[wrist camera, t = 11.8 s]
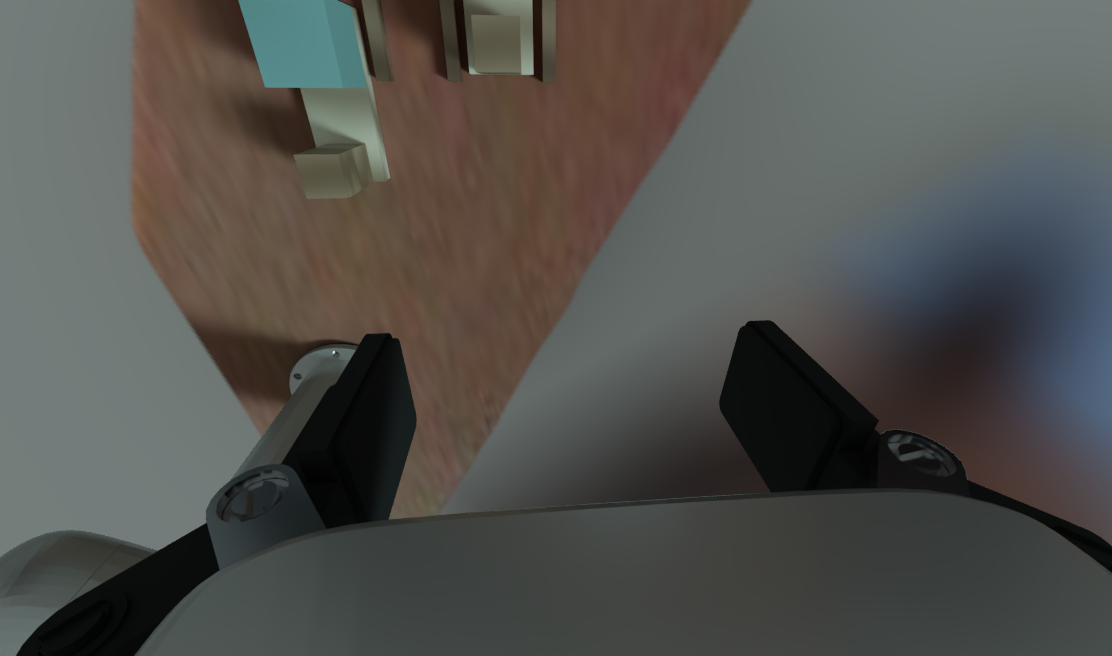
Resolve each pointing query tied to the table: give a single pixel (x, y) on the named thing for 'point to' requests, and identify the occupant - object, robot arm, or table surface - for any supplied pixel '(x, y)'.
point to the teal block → (304, 43)
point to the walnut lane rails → (452, 40)
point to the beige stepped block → (343, 137)
